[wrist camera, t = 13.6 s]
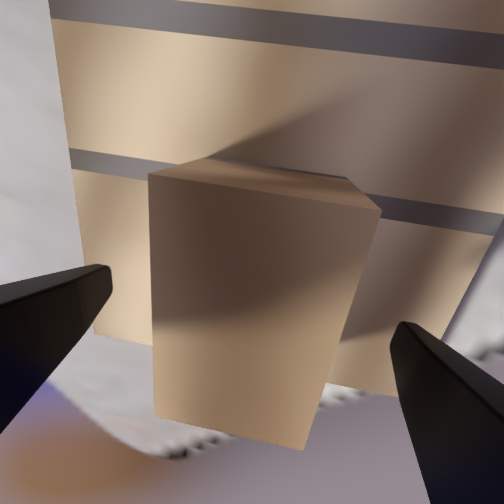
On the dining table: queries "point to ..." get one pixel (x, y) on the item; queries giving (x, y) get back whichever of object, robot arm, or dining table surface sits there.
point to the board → (295, 137)
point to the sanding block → (251, 292)
